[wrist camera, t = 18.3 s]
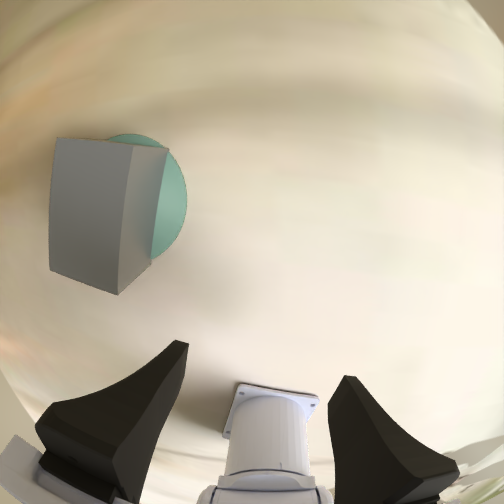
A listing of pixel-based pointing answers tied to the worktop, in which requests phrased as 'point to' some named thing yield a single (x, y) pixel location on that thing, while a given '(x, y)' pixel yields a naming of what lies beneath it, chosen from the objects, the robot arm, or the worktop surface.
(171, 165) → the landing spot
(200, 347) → the worktop surface
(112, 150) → the grey squared block
